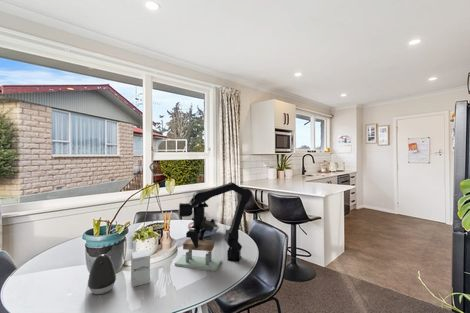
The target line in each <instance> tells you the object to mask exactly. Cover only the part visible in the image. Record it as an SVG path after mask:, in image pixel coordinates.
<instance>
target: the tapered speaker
mask: <svg viewBox="0 0 470 313" xmlns="http://www.w3.org/2000/svg"><path fill="white" fill-rule="evenodd" d="M116 274H117V273H116V269H115V266H114V263H113V261H112V258H111V257H110V256H109V255H108V254H106V253H102V254H99V255H98V256H96V257H95V259H94V260H93V262H92V265H91V268H90V272H89V275H88V280H87V281H88V282H87V287H88V288H89V291H90V292H91V293H92V294H95V295H102V294H106V293H107V292H108V293H109V291H111V290H112V289H113V287H114V286H115V283H116V280H117V275H116Z"/></svg>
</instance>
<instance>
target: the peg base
mask: <svg viewBox="0 0 470 313" xmlns="http://www.w3.org/2000/svg"><path fill="white" fill-rule="evenodd" d="M221 263H222V259H221V258H213V257H212V251H207V253H206V254H205V257H204V256H196V255H193V250H188V251H185V254H182V255H181V256H180V257H179V259H177V260H175V262H174V266H178V267H183V268H191V269H199V270H205V271H213V272H216V271H217V270H218V268H219V266H220V265H221Z"/></svg>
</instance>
